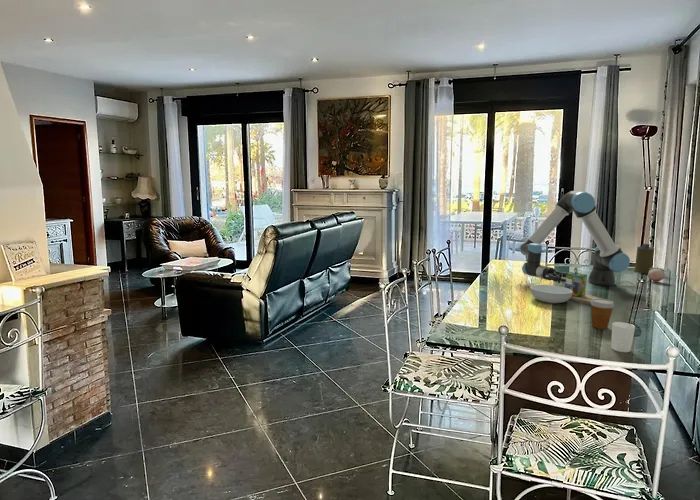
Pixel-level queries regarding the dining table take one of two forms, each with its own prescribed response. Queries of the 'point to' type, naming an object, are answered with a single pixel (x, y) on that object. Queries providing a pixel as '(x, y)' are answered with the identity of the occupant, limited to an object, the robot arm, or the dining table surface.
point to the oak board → (584, 299)
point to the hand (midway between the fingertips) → (579, 281)
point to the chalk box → (577, 283)
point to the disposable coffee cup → (601, 312)
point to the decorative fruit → (656, 274)
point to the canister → (644, 259)
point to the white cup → (622, 336)
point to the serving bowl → (551, 293)
